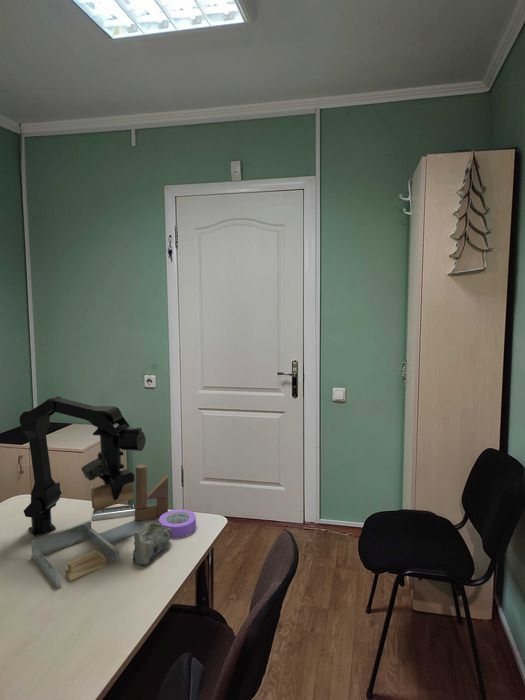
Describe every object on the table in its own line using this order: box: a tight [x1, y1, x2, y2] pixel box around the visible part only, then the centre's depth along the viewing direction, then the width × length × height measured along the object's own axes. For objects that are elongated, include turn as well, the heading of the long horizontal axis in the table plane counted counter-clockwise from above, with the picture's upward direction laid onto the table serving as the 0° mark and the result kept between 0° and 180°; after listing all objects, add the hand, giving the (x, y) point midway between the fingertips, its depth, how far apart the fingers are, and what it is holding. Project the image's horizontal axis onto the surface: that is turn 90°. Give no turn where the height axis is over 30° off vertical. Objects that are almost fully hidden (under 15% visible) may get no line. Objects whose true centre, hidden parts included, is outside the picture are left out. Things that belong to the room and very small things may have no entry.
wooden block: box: [134, 464, 169, 521], centre depth 150 cm, size 4×11×18 cm, turn 105°
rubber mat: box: [98, 519, 147, 545], centre depth 142 cm, size 8×14×1 cm, turn 135°
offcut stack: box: [64, 549, 107, 582], centre depth 122 cm, size 3×10×4 cm, turn 134°
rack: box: [30, 520, 120, 588], centre depth 127 cm, size 19×17×5 cm
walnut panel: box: [90, 482, 135, 511], centre depth 137 cm, size 3×12×6 cm, turn 133°
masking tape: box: [158, 509, 197, 539], centre depth 144 cm, size 12×12×4 cm
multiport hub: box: [91, 503, 135, 521], centre depth 153 cm, size 4×14×2 cm, turn 106°
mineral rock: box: [132, 521, 172, 566], centre depth 130 cm, size 13×11×10 cm
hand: (113, 498), depth 138 cm, fingers closed on walnut panel, 3 cm apart
